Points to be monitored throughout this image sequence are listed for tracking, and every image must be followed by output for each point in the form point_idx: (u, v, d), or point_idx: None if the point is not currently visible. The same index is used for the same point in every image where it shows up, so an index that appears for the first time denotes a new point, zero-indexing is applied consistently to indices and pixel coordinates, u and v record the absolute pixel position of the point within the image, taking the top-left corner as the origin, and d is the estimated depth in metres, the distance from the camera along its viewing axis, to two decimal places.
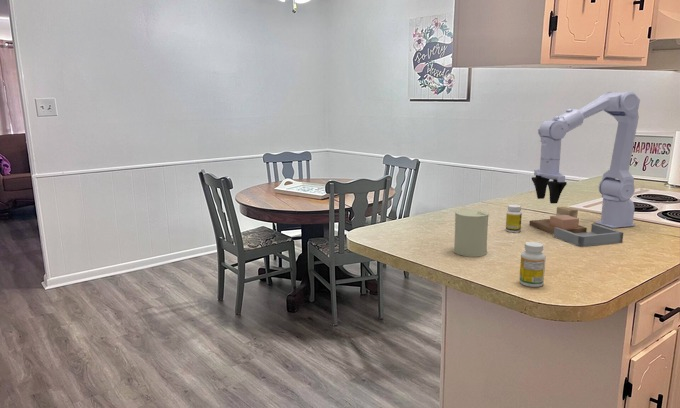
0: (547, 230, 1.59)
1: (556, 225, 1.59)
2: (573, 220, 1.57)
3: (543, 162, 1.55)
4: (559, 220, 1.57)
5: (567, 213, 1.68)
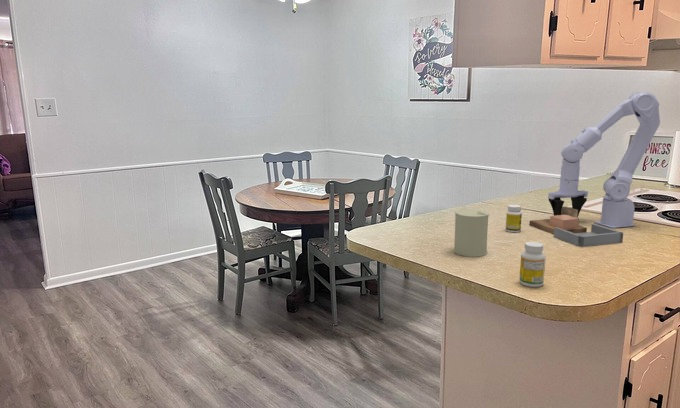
0: (547, 230, 1.59)
1: (556, 225, 1.59)
2: (573, 220, 1.57)
3: None
4: (559, 220, 1.57)
5: (567, 213, 1.68)
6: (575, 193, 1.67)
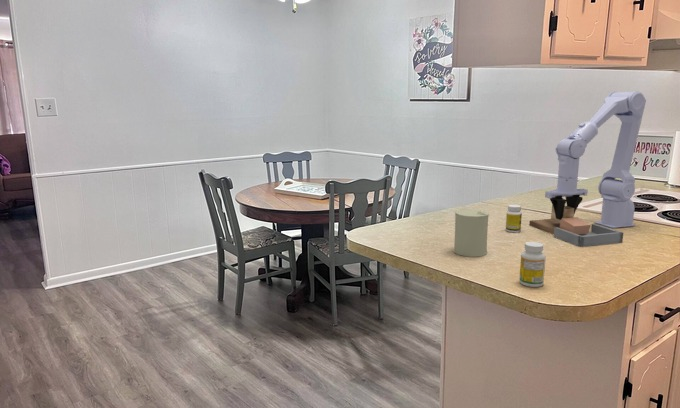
0: (547, 230, 1.59)
1: (566, 229, 1.54)
2: (584, 226, 1.52)
3: None
4: (570, 225, 1.52)
5: (563, 212, 1.57)
6: (574, 192, 1.55)
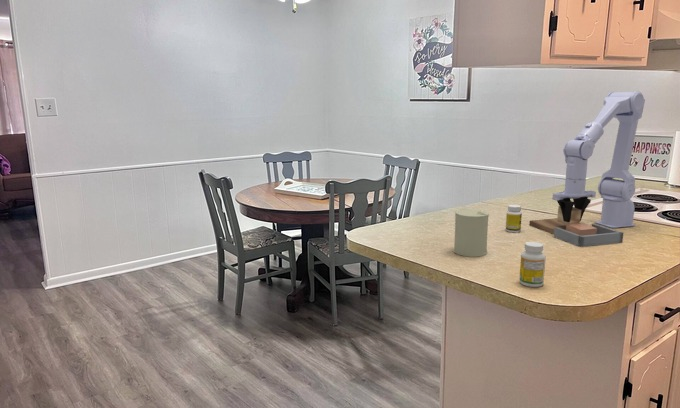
0: (547, 230, 1.59)
1: None
2: (591, 230, 1.50)
3: None
4: (576, 229, 1.50)
5: None
6: (582, 194, 1.52)
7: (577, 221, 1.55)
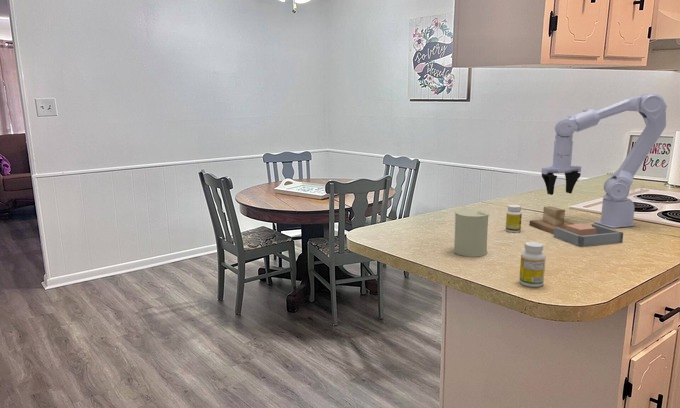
0: (547, 230, 1.59)
1: None
2: (590, 230, 1.50)
3: None
4: (576, 230, 1.50)
5: (554, 213, 1.61)
6: (568, 168, 1.66)
7: (561, 220, 1.62)
